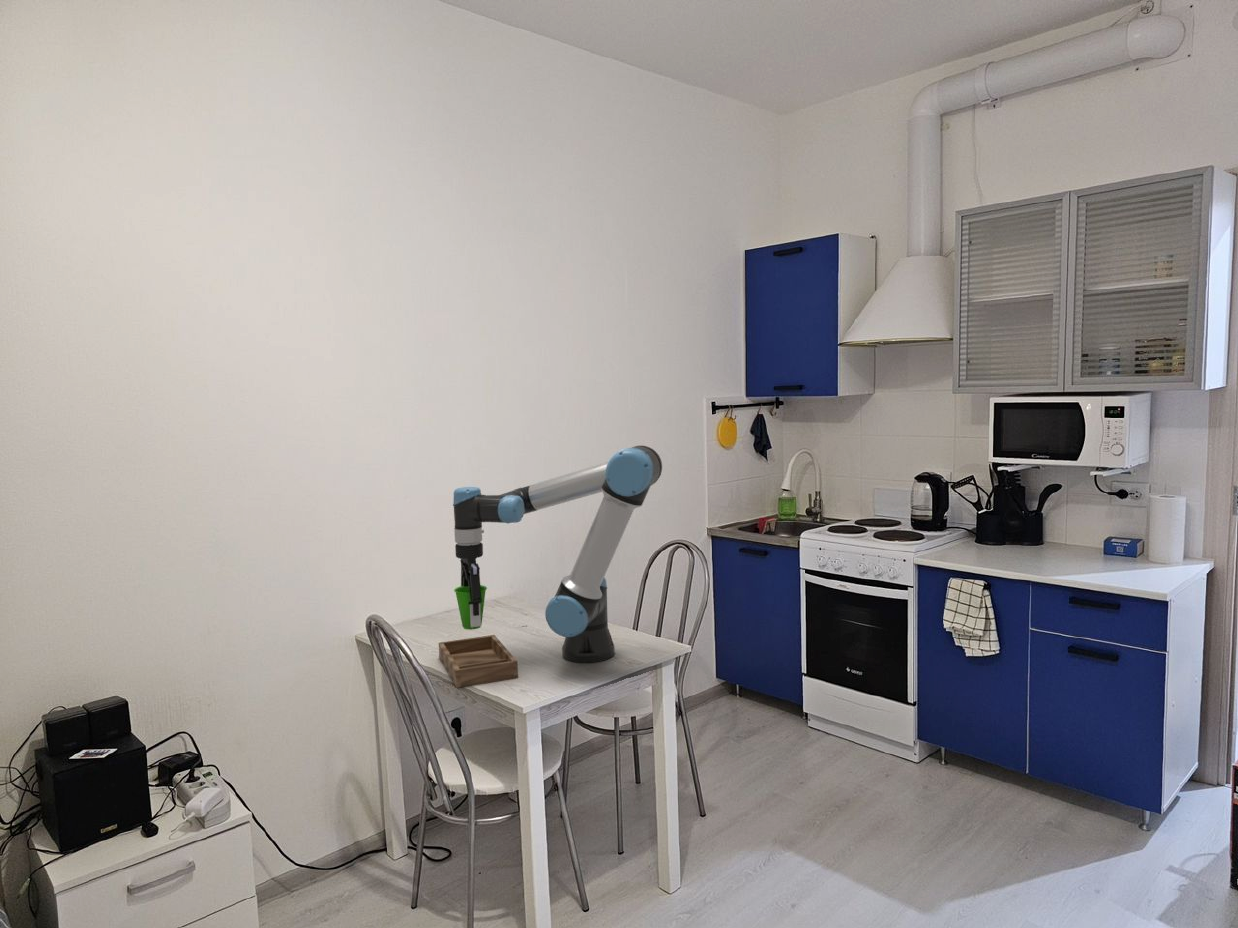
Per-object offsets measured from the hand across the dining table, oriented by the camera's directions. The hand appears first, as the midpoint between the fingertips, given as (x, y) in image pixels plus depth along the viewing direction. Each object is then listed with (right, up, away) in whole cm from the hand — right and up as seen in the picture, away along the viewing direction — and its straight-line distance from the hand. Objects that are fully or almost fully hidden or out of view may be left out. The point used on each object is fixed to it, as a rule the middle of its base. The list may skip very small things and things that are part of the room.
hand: (472, 621), depth 229 cm
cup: (0, -2, 0) cm, 2 cm away
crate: (+2, -12, -2) cm, 13 cm away
